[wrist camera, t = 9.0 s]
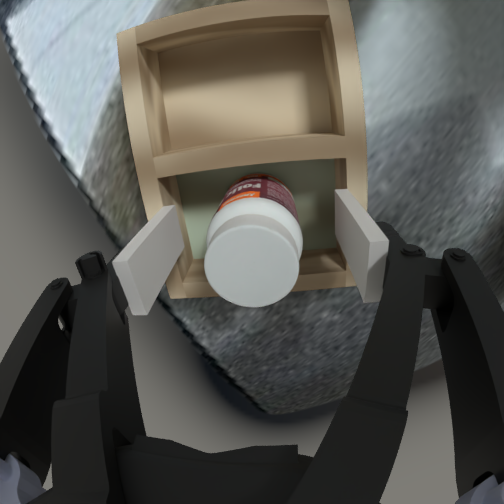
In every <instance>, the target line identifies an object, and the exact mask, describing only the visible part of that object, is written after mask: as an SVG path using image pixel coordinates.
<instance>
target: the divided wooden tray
mask: <svg viewBox="0 0 504 504" xmlns="http://www.w3.org/2000/svg"><path fill="white" fill-rule="evenodd" d="M117 45H118V56H119V66H120V74H121V83H122V90H123V98H124V104H125V111H126V117H127V123H128V129H129V135H130V141H131V146H132V151H133V156H134V161H135V166H136V171H137V176H138V180H139V185H140V189H141V194H142V198H143V202H144V206H145V211H146V215H147V219H148V222H149V221H150V220H151V219H152V218H153V216H154V215H155V214H156V213H157V212H158V211H159V210H160V209H161V208H162V207H163V206H170V205H175V207H176V211H177V216H178V220H179V225H180V229H181V233H182V238H183V242H184V246H185V247H184V249H183V250H182V252H181V254H180V256H179V257H178V259H177V261H176V263H175V265H174V266H173V268H172V270H171V272H170V274H169V275H168V277H167V279H166V281H165V283H166V286H167V289H168V292H169V296H170V299H177V298H201V297H221V296H220V295H219V294H218V293H217V292H215V291H214V289H213V288H212V287H211V285H210V284H209V282H208V280H207V277H206V274H205V270H204V259H205V254H206V250H207V243H206V237H207V231H208V227H209V224H210V222H211V220H212V218H213V216H214V214H215V213H216V211H217V209H218V207H219V205H220V203H221V201H222V199H223V198H224V196H225V194H226V193H227V191H228V189H229V188H230V186H231V185H232V184H233V183H234V182H235V181H236V180H237V179H239V178H240V177H242V176H244V175H247V174H251V173H266V174H270V175H273V176H275V177H277V178H278V179H280V180H281V181H282V182H283V183H285V184H286V186H287V187H288V188H289V190H290V191H291V193H292V196H293V199H294V202H295V207H296V211H297V215H298V219H299V224H300V228H301V231H302V236H303V247H302V254H301V257H300V260H299V273H298V278H297V280H296V283H295V285H294V286H293V288H292V289H291V291H290V292H295V291H307V290H318V289H329V288H339V287H349V286H357V285H356V282H355V280H354V277H353V275H352V272H351V270H350V268H349V265H348V263H347V260H346V258H345V256H344V253H343V251H342V249H341V247H340V244H339V242H338V240H337V238H336V235H335V194H334V190H336V189H348V190H349V191H350V192H351V194H352V195H353V196H354V197H355V198H356V200H357V201H358V202H359V203H360V204H361V206H362V207H363V208H364V209H365V210H366V212H367V145H366V126H365V112H364V100H363V90H362V81H361V72H360V64H359V57H358V50H357V44H356V38H355V32H354V26H353V21H352V16H351V11H350V6H349V1H348V0H249V1H241V2H234V3H227V4H221V5H215V6H210V7H205V8H200V9H196V10H191V11H187V12H183V13H179V14H175V15H171V16H168V17H164V18H161V19H157V20H154V21H151V22H148V23H145V24H142V25H139V26H136V27H133V28H130V29H127V30H125V31H122V32H119V33H117Z"/></svg>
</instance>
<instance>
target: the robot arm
mask: <svg viewBox="0 0 504 504" xmlns="http://www.w3.org/2000/svg"><path fill="white" fill-rule="evenodd" d="M334 194H335V235H336V238H337V240H338V242H339V244H340V247H341V249H342V251H343V253H344V256H345V258H346V260H347V263H348V265H349V268H350V270H351V272H352V275H353V277H354V280H355V282H356V285H357V287H358V289H359V292H360V294H361V297H362V300H363V302H364V303H371V302H380V303H379V307H378V310H377V313H376V316H375V320H374V323H373V326H372V329H371V332H370V335H369V338H368V341H367V344H366V347H365V350H364V352H363V355H362V358H361V361H360V363H359V366H358V369H357V371H356V374H355V376H354V379H353V381H352V384H351V386H350V389H349V391H348V393H347V395H346V396H344V397H343V399H342V401H341V403H340V405H339V407H338V409H337V412H336V414H335V416H334V418H333V420H332V422H331V424H330V426H329V428H328V430H327V433H326V435H325V437H324V439H323V441H322V442H321V444H320V447H319V448H318V450H317V452H316V454H315V456H314V457H310V456H306V455H300V454H298V445H281V446H251V447H247V448H242V449H236V450H231V451H225V452H219V453H205V452H202V451H199V450H196V449H193V448H191V447H188V446H185V445H182V444H180V443H177V442H174V441H172V440H166V439H159V438H153V437H147V436H146V432H145V428H144V423H143V418H142V413H141V408H140V403H139V397H138V392H137V386H136V380H135V373H134V367H133V359H132V351H131V343H130V334H129V324H128V317H127V315H126V313H125V309H126V308H127V306H128V305H129V307H130V309H131V312H132V314H133V315H148V313H149V311H150V309H151V307H152V305H153V303H154V302H155V300H156V298H157V296H158V294H159V292H160V290H161V288H162V287H163V285H164V283H165V281H166V279H167V277H168V275H169V274H170V272H171V270H172V268H173V266H174V265H175V263H176V261H177V259H178V257H179V256H180V254H181V252H182V250H183V249H184V247H185V246H184V242H183V238H182V233H181V229H180V225H179V220H178V216H177V211H176V207H175V205H170V206H163V207H162V208H161V209H160V210H159V211H158V212H157V213H156V214H155V215H154V216H153V218H152V219H151V220H150V221H149V222H148V223H147V224H146V225H145V226H144V227H143V228H142V229H141V230H140V231H139V232H138V234H137V235H136V236H135V237H134V238H133V239H132V240H131V241H130V242H129V243H128V244H127V245H126V246H124V247H123V248H121V249H120V250H119V251H118V253H117V254H116V255H115V256H114V257H113V259H111V261H110V262H109V263H108V264H107V265H106V263H105V260H104V258H103V255H102V252H100V251H93V252H89V253H87V254H85V255H83V256H81V257H80V258H79V259H77V261H76V262H75V264H76V266H77V269H78V271H79V273H80V276H81V278H82V281H81V284H78V285H74V286H71V285H70V282H69V280H68V278H59V279H58V278H57V279H55V280H53V281H52V282H51V283H50V284H49V285H48V286H47V287H46V288H45V290H44V291H43V293H42V294H41V296H40V297H39V299H38V300H37V302H36V303H35V305H34V307H33V308H32V309H31V311H30V313H29V314H28V316H27V317H26V319H25V321H24V322H23V324H22V326H21V327H20V329H19V331H18V332H17V334H16V336H15V338H14V339H13V341H12V343H11V345H10V347H9V348H8V350H7V352H6V354H5V356H4V358H3V360H2V362H1V363H0V504H381V503H379V501H380V499H381V497H382V494H383V492H384V489H385V487H386V484H387V481H388V479H389V476H390V473H391V470H392V468H393V465H394V462H395V459H396V456H397V453H398V450H399V446H400V443H401V440H402V436H403V432H404V429H405V425H406V421H407V416H408V411H406V405H407V400H408V397H409V392H410V387H411V382H412V378H413V373H414V368H415V362H416V356H417V350H418V343H419V336H420V328H421V320H422V310H423V308H427V309H431V314H432V317H433V321H434V325H435V329H436V333H437V337H438V342H439V346H440V350H441V355H442V360H443V365H444V370H445V375H446V381H447V387H448V394H449V400H450V408H451V416H452V425H453V436H454V452H455V470H456V483H457V489H458V495H459V499H458V500H457V501H456V502H455V504H504V312H503V310H502V308H501V306H500V304H499V302H498V300H497V298H496V296H495V295H494V293H493V291H492V289H491V287H490V286H489V284H488V282H487V280H486V279H485V277H484V275H483V273H482V272H481V270H480V268H479V267H478V265H477V264H476V262H475V260H474V259H473V257H472V256H471V255H470V254H469V253H467V252H466V251H465V250H461V249H459V248H457V249H456V248H450V249H447V250H445V251H444V252H443V257H442V259H434V258H427V257H426V254H425V251H424V250H423V249H422V248H420V247H418V246H415V245H411V244H406V242H405V241H404V240H403V239H402V238H401V236H399V234H398V233H397V232H396V231H395V229H394V228H393V227H392V226H391V225H389V224H387V223H385V222H374V220H373V219H372V218H371V217H370V215H369V214H368V213H367V212H366V210H365V209H364V208H363V207H362V206H361V204H360V203H359V202H358V201H357V200H356V198H355V197H354V196H353V195H352V194H351V192H350V191H349V190H348V189H336V190H334ZM58 318H59V319H60V321H61V323H62V325H63V329H62V330H61V329H60V327H59V324H58ZM51 463H52V483H53V487H52V488H51V489H49V490H47V491H46V489H44V488H42V487H43V484H44V482H45V480H46V477H47V474H48V471H49V468H50V464H51Z"/></svg>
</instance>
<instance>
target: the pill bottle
mask: <svg viewBox="0 0 504 504" xmlns="http://www.w3.org/2000/svg"><path fill="white" fill-rule="evenodd" d="M206 243H207V250H206V254H205V259H204V270H205V274H206V277H207V280H208V282H209V284H210V285H211V287H212V288H213V289H214V291H215V292H217V293H218V294H219V295H220V296H221V297H222V298H224V299H225V300H227V301H229V302H231V303H234V304H236V305H240V306H244V307H263V306H267V305H270V304H273V303H275V302H277V301H279V300H281V299H282V298H283V297H285V296H286V295H287V294H288V293H289V292H290V291H291V289H292V288H293V286H294V285H295V283H296V280H297V278H298V273H299V260H300V257H301V254H302V247H303V236H302V231H301V228H300V224H299V219H298V215H297V211H296V207H295V202H294V199H293V196H292V193H291V191H290V190H289V188H288V187H287V186H286V184H285V183H283V182H282V181H281V180H280V179H278V178H277V177H275V176H273V175H270V174H266V173H251V174H247V175H244V176H242V177H240V178H239V179H237V180H236V181H235V182H234V183H233V184H232V185H231V186H230V188H229V189H228V191H227V193H226V194H225V196H224V198H223V199H222V201H221V203H220V205H219V207H218V209H217V211H216V213H215V214H214V216H213V218H212V220H211V222H210V224H209V227H208V231H207V237H206Z"/></svg>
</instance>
